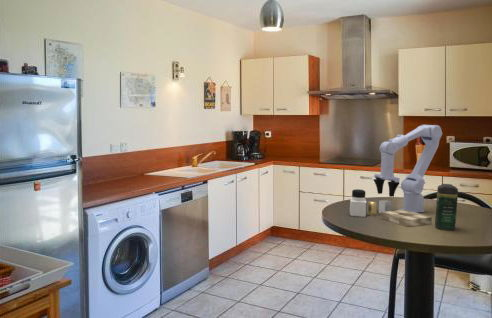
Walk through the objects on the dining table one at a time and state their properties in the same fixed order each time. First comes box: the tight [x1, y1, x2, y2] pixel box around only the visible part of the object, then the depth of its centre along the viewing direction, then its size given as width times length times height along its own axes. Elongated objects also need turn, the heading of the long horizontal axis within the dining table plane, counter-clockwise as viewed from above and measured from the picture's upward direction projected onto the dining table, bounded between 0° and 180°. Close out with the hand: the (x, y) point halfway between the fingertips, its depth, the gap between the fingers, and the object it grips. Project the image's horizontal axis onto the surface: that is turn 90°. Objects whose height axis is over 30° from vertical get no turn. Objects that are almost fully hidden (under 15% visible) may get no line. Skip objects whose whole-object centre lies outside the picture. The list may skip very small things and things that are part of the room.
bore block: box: [380, 209, 433, 228], centre depth 197 cm, size 14×16×3 cm
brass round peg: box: [367, 200, 378, 216], centre depth 209 cm, size 4×4×6 cm
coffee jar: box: [434, 183, 459, 231], centre depth 186 cm, size 10×8×19 cm
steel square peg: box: [378, 199, 392, 214], centre depth 213 cm, size 4×4×6 cm
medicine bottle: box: [349, 188, 368, 218], centre depth 207 cm, size 7×7×12 cm
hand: (385, 195), depth 212 cm, fingers open, 7 cm apart
